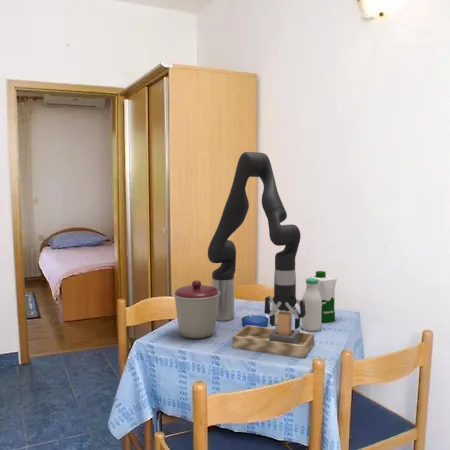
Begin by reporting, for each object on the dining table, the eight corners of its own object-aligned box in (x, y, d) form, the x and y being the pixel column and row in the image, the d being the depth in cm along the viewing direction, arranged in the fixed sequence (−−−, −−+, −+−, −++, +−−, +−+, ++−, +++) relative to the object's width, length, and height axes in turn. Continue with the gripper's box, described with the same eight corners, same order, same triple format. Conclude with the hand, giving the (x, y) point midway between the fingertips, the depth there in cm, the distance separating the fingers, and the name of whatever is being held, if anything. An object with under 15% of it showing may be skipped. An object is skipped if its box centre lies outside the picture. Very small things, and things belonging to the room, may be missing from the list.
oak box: (232, 347, 169) (232, 336, 168) (246, 335, 182) (246, 325, 181) (304, 358, 159) (305, 346, 158) (314, 344, 171) (314, 333, 171)
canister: (183, 325, 194) (182, 274, 192) (226, 328, 190) (225, 276, 187) (166, 340, 177) (165, 284, 175) (213, 344, 172) (212, 287, 170)
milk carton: (325, 315, 206) (325, 270, 204) (338, 321, 198) (339, 273, 196) (308, 318, 202) (308, 271, 200) (321, 324, 194) (321, 276, 192)
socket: (269, 348, 166) (269, 334, 166) (276, 340, 174) (276, 327, 174) (293, 351, 163) (293, 337, 162) (299, 343, 171) (299, 330, 170)
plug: (277, 347, 168) (277, 313, 166) (280, 343, 171) (280, 310, 170) (288, 348, 166) (288, 315, 165) (291, 344, 170) (291, 312, 168)
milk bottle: (321, 332, 184) (322, 281, 182) (301, 331, 186) (301, 280, 184) (321, 326, 192) (322, 277, 190) (302, 324, 193) (302, 276, 191)
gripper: (262, 282, 165) (262, 327, 167) (302, 285, 160) (302, 332, 162) (268, 278, 172) (268, 321, 174) (307, 281, 167) (307, 326, 168)
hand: (284, 327), depth 168 cm, fingers open, 8 cm apart
